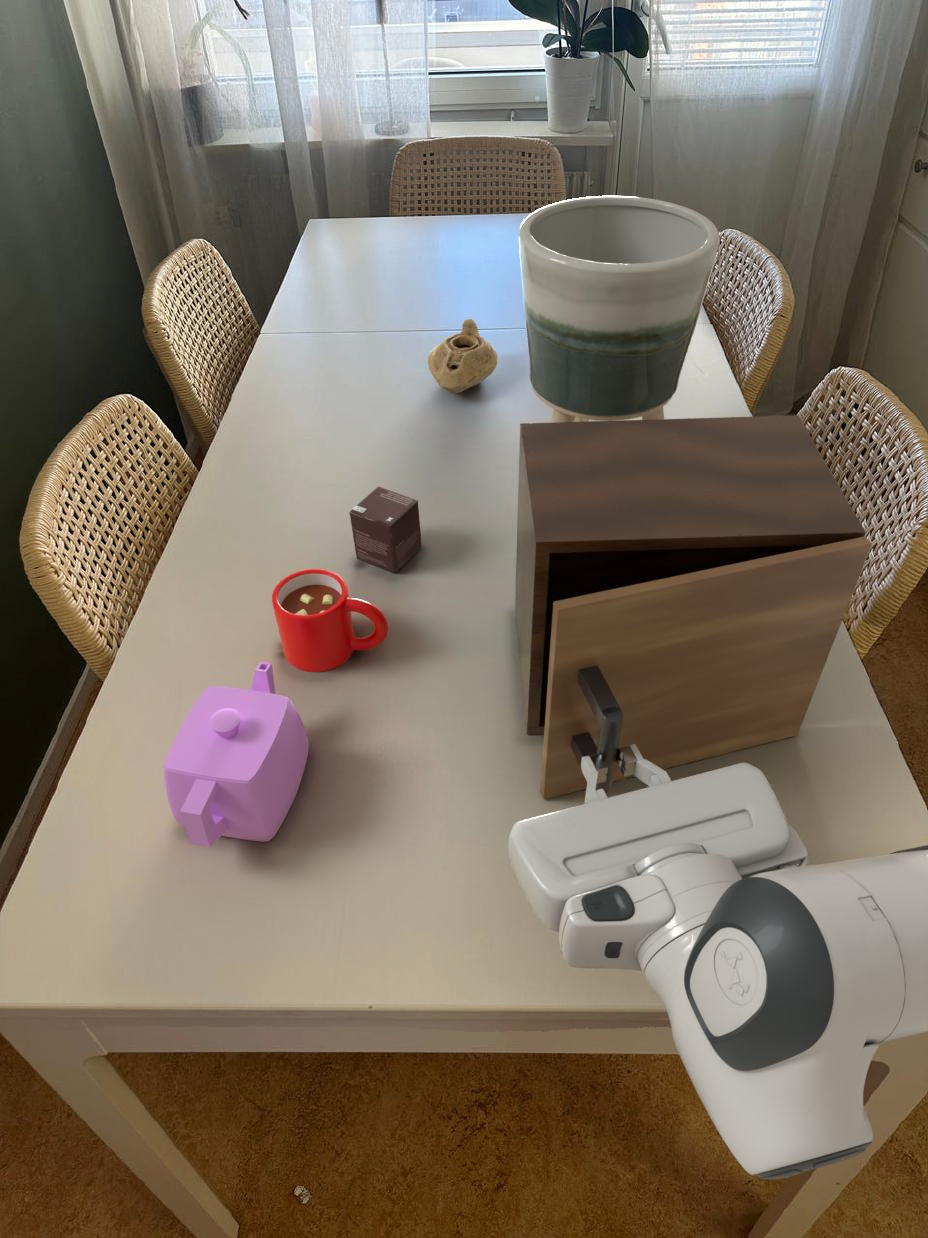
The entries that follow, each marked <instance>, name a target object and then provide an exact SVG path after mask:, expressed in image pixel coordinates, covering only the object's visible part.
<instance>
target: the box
mask: <svg viewBox="0 0 928 1238" xmlns="http://www.w3.org/2000/svg"><path fill="white" fill-rule="evenodd" d="M419 509H420V508H419V500H418V499H415V498H413V497H410V496H407V495H405V494H401V493H398V492H395V491H393V490H390V489H387V488H384V487H381V486H379V485H378V486H376V488H374V489H373V490H372V491H371V492H370V493H369V494H368V495H367V496H365V498H363V499H362V500H361V501H359V502H358V503H357V504H356V505H355V506H354V507H352V508H351V509H350V511H349V518H350V524H351V531H352V538H353V543H354V550H355V556H356V559H357V560H360V561H362V562H364V563H368V564H370V565H374V566H375V567H378V568H381V569H383V570H386V571H389V572H391V573H393V574H396V573H397V572H398V571H400V570H401V568H403V566H405V565H406V563H408V562H409V560H410V559H411V558H412V557H413V556H414V555H416V553H418V552H419V550H421V549H422V545H423V544H422V543H423V542H422V534H421V533H422V531H421V523H420V522H421V521H420V510H419Z"/></svg>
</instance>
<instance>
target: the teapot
mask: <svg viewBox="0 0 928 1238" xmlns="http://www.w3.org/2000/svg"><path fill="white" fill-rule="evenodd" d="M306 730H307V729H306V727H305V725H304V722H303V720H302V718H301V715H300V714H299V712H298V710H297V708H296V707H295V705H294V703H293V702H292V700H291V699H290V697H288V696H286V695H281V694H277V693H276V687H275V679H274V671H273V663H272V662H266V661H259V663H258V664H257V666H256V668H255V669H254V675H253V679H252V683H251V686H250V689H244V688H239V687H238V688H236V687H231V686H230V687H229V686H222V685H221V686H220V685H209V686H207V687H206V688H205V689H204V691H203V692H202V693H201V694H200V696H199V697H198V699H197V700H196V701H195V703H194V704H193V706H192V708H191V709H190V711H189V712H188V714H187V716H186V717H185V719H183V722H182V724H181V726H180V727H179V730H178V731H177V734H176V735H175V737H174V740H173V742H172V744H171V746H170V748H169V750H168V753H167V755H166V757H165V760H164V764H163V774H164V775H163V776H164V784H165V785H164V786H165V792H166V797H167V801H168V805H169V807H170V811H171V813H172V816H173V818H174V819H175V821H176V822H177V823H178V824H179V825H180V826H182V827H183V828H185V831H186V834H187V837H188V840H189V843H190V845H195V846H200V847H206V848H211V847H212V846H213V845H214V844H215V843H216V842H217V841H218V840H219V839H220V838H221V837H225V838H231V839H239V840H245V841H252V842H253V841H254V842H262V843H263V842H265V843H266V842H269V841H271V840H272V839H273V838H274V837H275V836H276V834H277V833H278V831H279V830H280V828H281V826H282V825H283V823H284V821H285V819H286V817H287V815H288V813H289V811H290V809H291V807H292V805H293V803H294V801H295V798H296V796H297V793H298V791H299V788H300V784H301V782H302V778H303V775H304V773H305V768H306V765H307V761H308V756H309V749H310V747H309V745H310V741H309V737H308V733H307V731H306Z"/></svg>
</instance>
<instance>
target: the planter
mask: <svg viewBox="0 0 928 1238" xmlns="http://www.w3.org/2000/svg"><path fill="white" fill-rule="evenodd" d="M720 240H721V237H720V233H719V229H718V228H717V226H716V225H715V224H714V222H712V221H711V220H710V219H709V218H708V217H707V216H705V215H703V214H702V213H699V212H698V211H695V210H694V209H691V208H689V207H686V206H683V205H680V204H677V203H673V202H669V201H665V200H660V199H653V198H649V197H640V196H639V197H638V196H626V195H625V196H624V195H602V196H600V195H599V196H586V197H579V198H572V199H567V200H562V201H559V202H555V203H552V204H548V205H546V206H543V207H541V208H538V209H536V210H535V211H534V212H532V213H530V214H529V215H528V216H527V217H526V218H524V219H523V220H522V222H521V224H520V226H519V228H518V253H519V265H520V277H521V290H522V291H521V292H522V302H523V314H524V325H525V332H526V343H527V353H528V363H529V364H528V365H529V380H530V385H531V387H532V390H533V392H534V395H535V396H536V397H537V398H538V399H539V400H540V401H541V402H542V403H543V404H545V405H546V406H547V407H549V408H551V409H553V411H552V415H551V420H550V423H555V422H589V420H591V421H622V420H634V419H637V418H641V420H656V419H665V413H664V407H665V406H666V405H667V404H668V403H669V402H670V401H671V399H672V398H673V396H674V395H675V394H676V391H677V389H678V388H679V385H680V379H681V376H682V371H683V368H684V366H685V365H684V364H685V361H686V359H687V355H688V353H689V348H690V346H691V342H692V339H693V336H694V333H695V330H696V326H697V324H698V320H699V317H700V313H701V309H702V306H703V303H704V300H705V297H706V293H707V289H708V285H709V282H710V278H711V277H712V272H713V269H714V265H715V261H716V258H717V253H718V249H719V245H720Z"/></svg>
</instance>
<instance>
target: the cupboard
mask: <svg viewBox="0 0 928 1238" xmlns="http://www.w3.org/2000/svg"><path fill="white" fill-rule="evenodd" d="M518 450H519V451H518V452H519V455H518V489H517V490H518V491H517V519H516V520H517V523H516V524H517V525H516V527H517V528H516V559H515V560H516V562H515V597H514V616H515V625H516V626H515V627H516V637H517V646H518V656H519V669H520V678H521V687H522V688H521V689H522V699H523V700H522V701H523V710H524V721H525V732H526V735H527V736H529V735H544V730H545V716H546V701H547V687H548V672H549V658H550V644H551V629H552V615H553V602H554V601H559V600H564V599H569V598H573V597H578V596H583V595H588V594H592V593H597V592H602V591H607V590H612V589H616V588H621V587H626V586H631V585H635V584H640V583H645V582H650V581H654V580H659V579H664V578H669V577H674V576H678V575H683V574H688V573H693V572H697V571H702V570H707V569H712V568H716V567H721V566H726V565H731V564H736V563H740V562H745V561H750V560H755V559H759V558H764V557H769V556H774V555H778V554H783V553H788V552H793V551H798V550H802V549H807V548H812V547H817V546H821V545H826V544H831V543H836V542H840V541H845V540H850V539H855V538H860V537H866V536H865V535H866V532H867V531H866V530H865V528H864V527H863V525H862V523H861V521H860V520H859V518H858V516H857V514H856V512H854V509H853V508H852V506H851V504H850V502H849V501H848V499H847V497H846V496H845V494H844V492H843V490H842V489H841V487H840V485H839V483H838V482H837V480H836V478H835V477H834V474H833V473H832V471H831V470H830V468H829V466H828V465H827V463H826V461H825V459H824V458H823V456H822V454H821V452H820V451H819V449H818V447H817V446H816V443H815V442H814V440H813V438H812V437H811V435H810V433H809V432H808V430H807V428H806V426H805V425H804V423H803V422H802V419H801V418H800V416H799V415H797V414H796V415H765V416H764V415H763V416H762V415H761V416H729V417H725V416H723V417H694V418H693V417H691V418H690V417H689V418H664V419H656V420H642V419H626V420H615V421H601V420H591V421H589V420H588V422H555V423H551V422H527V423H526V422H525V423H520V424H519V449H518Z"/></svg>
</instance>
